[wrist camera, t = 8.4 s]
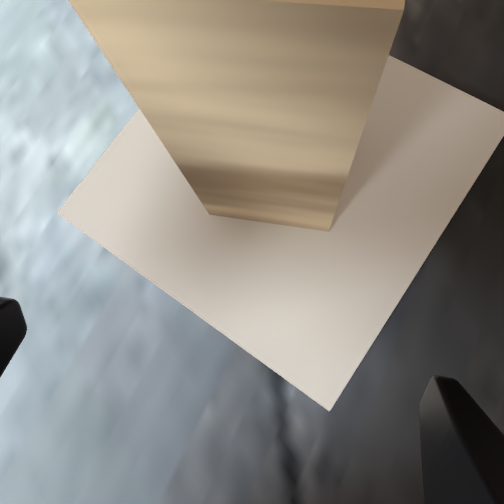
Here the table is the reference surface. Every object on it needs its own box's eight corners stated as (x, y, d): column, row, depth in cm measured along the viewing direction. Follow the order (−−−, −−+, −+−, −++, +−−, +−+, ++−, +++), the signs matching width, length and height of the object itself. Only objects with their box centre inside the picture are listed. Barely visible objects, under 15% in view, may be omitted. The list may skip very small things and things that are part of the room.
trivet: (327, 407, 15) (329, 411, 14) (66, 218, 18) (56, 212, 17) (505, 127, 17) (515, 117, 16) (241, -5, 20) (239, -20, 19)
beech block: (328, 231, 16) (404, 10, 5) (209, 214, 17) (59, -14, 6) (344, 120, 17) (434, -257, 6) (231, 108, 18) (137, -251, 7)
